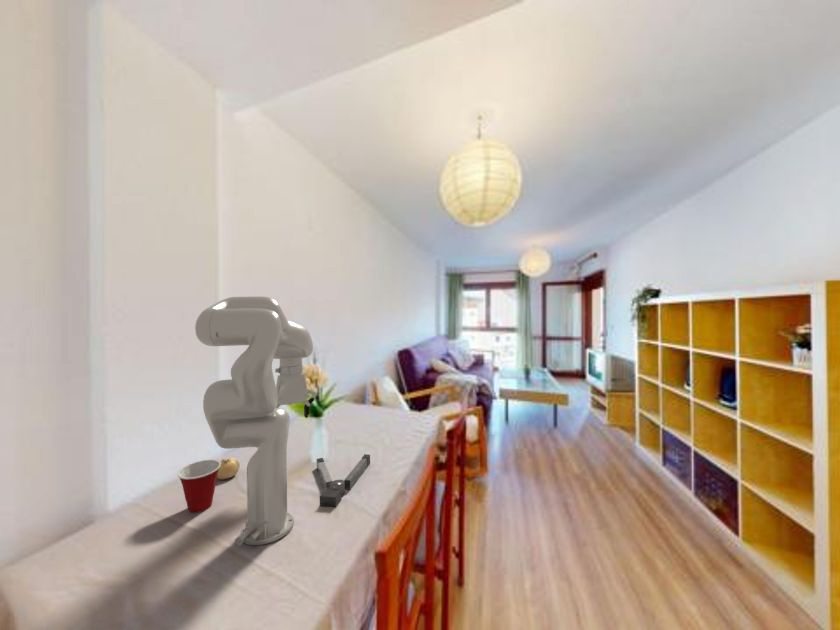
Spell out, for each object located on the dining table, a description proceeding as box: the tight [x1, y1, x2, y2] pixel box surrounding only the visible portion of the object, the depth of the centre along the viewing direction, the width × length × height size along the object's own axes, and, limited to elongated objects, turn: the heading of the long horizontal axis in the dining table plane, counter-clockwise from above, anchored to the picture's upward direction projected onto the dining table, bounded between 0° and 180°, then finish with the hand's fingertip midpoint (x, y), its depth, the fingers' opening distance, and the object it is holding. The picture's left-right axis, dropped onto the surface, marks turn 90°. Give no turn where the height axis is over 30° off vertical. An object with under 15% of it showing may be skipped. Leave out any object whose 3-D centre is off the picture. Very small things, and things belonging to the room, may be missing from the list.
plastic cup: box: [176, 459, 221, 514], centre depth 97 cm, size 11×11×12 cm
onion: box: [217, 457, 241, 480], centre depth 117 cm, size 8×8×7 cm
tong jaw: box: [316, 457, 346, 498], centre depth 112 cm, size 25×5×4 cm, turn 25°
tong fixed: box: [319, 453, 371, 509], centre depth 110 cm, size 30×6×3 cm, turn 170°
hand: (291, 419), depth 116 cm, fingers open, 9 cm apart
